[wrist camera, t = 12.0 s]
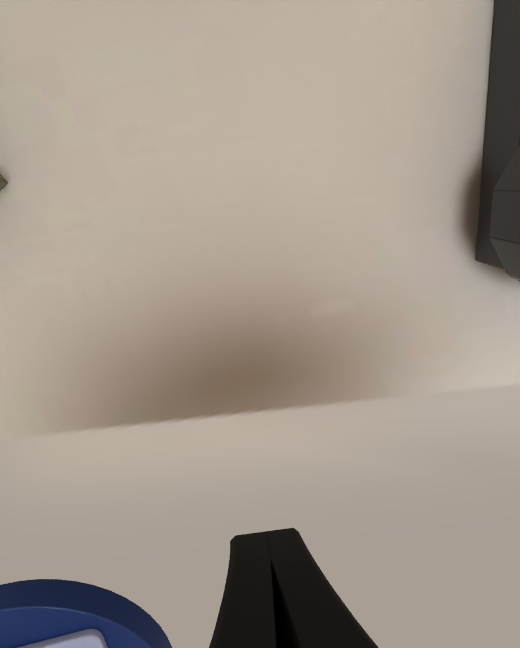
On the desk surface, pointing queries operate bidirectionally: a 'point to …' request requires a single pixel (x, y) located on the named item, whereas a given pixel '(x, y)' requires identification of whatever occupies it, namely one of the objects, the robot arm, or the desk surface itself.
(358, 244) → the desk surface
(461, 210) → the desk surface
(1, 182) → the panel
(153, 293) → the desk surface
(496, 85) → the power block
